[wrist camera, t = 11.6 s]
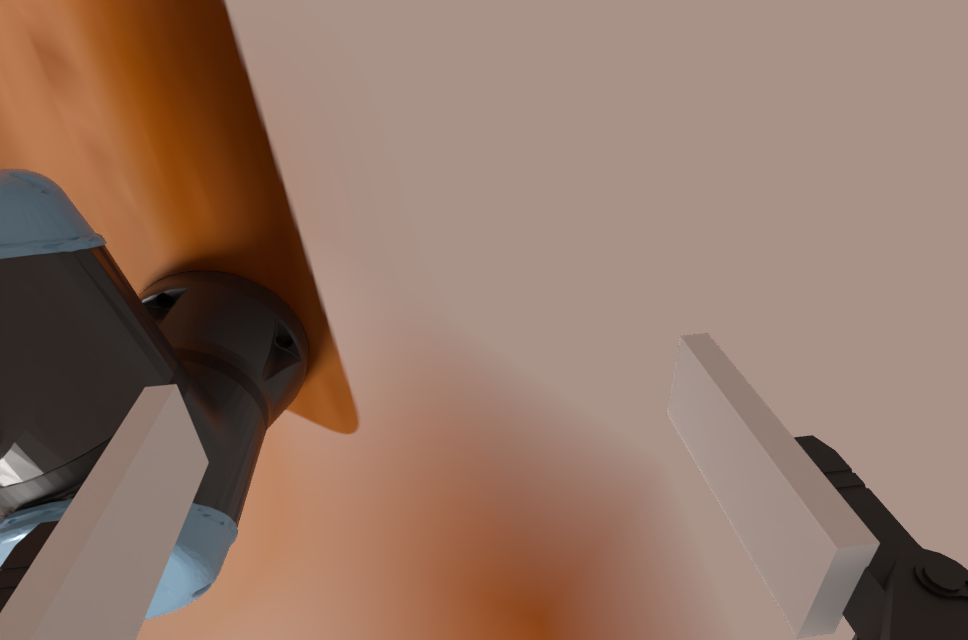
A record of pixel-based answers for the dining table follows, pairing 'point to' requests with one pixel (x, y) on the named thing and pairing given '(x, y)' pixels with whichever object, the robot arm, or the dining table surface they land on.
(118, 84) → the dining table surface
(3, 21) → the dining table surface
